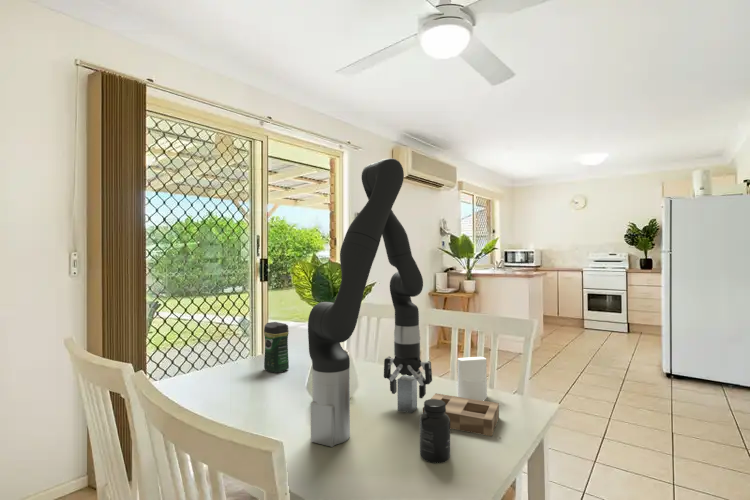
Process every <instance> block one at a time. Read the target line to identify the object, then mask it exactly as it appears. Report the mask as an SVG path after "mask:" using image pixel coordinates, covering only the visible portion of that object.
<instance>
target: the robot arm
mask: <svg viewBox="0 0 750 500" xmlns="http://www.w3.org/2000/svg"><path fill="white" fill-rule="evenodd" d="M403 167H404V166H403V165H402V163H401V162H400V161H399V160H398V159H396V158H383V159H381V160H378V161H374V162H372V163H370V164H367V165H366V166H365V167H364V168H363V170H362V172H361V183H362V187H363V190H364V192H365V195H366V197H367V199H368V201H367V202H366V204H365V205H364V206H363V208H362V209H361V210H360V211H359V213H358V214H357V215H356V216H355V218H354V219H353V221H352V222H351V223H350V225H349V226H348V228H347V231H346V233H345V235H344V238H343V241H342V244H341V247H340V252H339V262H340V263H339V264H340V270H341V271H340V272H341V281H340V285H339V289H338V292H337V295H336V297H335V300H334V302H332V301H331V302H330V301H321V302H318V303H316V304H315V305H314V306H313V307H312V309H311V310H310V313H309V314H308V321H307V337H308V353H309V357H310V360H311V363H312V401H311V403H310V442H312V443H316V444H319V445H323V446H327V447H331V448H333V447H334V446H335V445H336V446H337V445H339V444H342V443H345V442H347V441H348V440H349V439H350V436H351V402H350V401H351V399H350V398H351V391H350V390H351V387H350V385H351V381H350V380H351V377H350V375H351V371H350V370H351V369H350V368H351V367H350V366H351V364H350V361H351V359H350V356H349V354H348V353H347V351H346V350H344V348H343V347H342V345H341V343H344V342H346V341H347V340H348V339H350V338H351V336H352V335H353V333H354V331H355V330H356V326H357V323H358V319H359V315H360V310H361V306H362V301H363V297H364V293H365V289H366V285H367V282H368V279H369V277H370V272H371V269H372V267H373V266H372V265H373V264H374V261H375V258H376V255H377V252H378V250H379V246H380V242H381V240H383V243H384V247H385V252H386V256H387V260H388V262H389V264H390V266H392V267H394V268H396V270H397V272H395V273H393V274H392V276H391V278H390V281H389V293H390V297H391V300H392V301H391V302H392V305H393V308H394V331H393V339H394V340H393V343H394V347H393V349H394V350H393V351H394V354H393V355H394V358H392V357H391V356H390V355H389V356H387V357H385V358H384V359H383V360H384V361H383V362H384V363H383V379H388V380H389V391H390V392H391V394H392V395H395V394H396V393H398V386H397V379H396V378H398V376H399V375H401V376H403V375H406V376H413V377H414V378H415V379H416V380H417V383H418V384H419V385H418V398H419V399H423V398H424V397H425V396H426V394H427V393H426V390H427V389H426V388H427V387H426V385H430V384H431V383H432V382H433V371H432V362H431V361H430V360H429V361H422V359H421V333H420V332H421V331H420V322H419V321H420V318H419V317H420V312H419V307H418V306H417V305H416V304H414V303H413V301H412V298H413V297H417V296H419V295H421V293H422V291H423V288H424V279H423V276H422V273H421V271H420V269H419V267H418V264H417V262H416V261H415V259H414V257H413V254H412V249H411V245H410V240H409V237H408V234H407V232H406V230H405V228H404V226H403V225H402V223H401V221H400V220H399V219H398V217H397V216H396V215H395V213H394V210H393V205H394V204H395V201H396V199H397V197H398V195H399V193H400V191H401V188H402V186H403V183H404V177H405V175H404V174H405V172H404V168H403ZM411 297H412V298H411ZM392 365H394V367H395V370H394V371H393V372H392V373H391V371H392V367H391V366H392ZM421 367H422V369H423V370H424V374H423V373H422V370H420V368H421Z"/></svg>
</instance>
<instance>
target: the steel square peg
mask: <svg viewBox="0 0 750 500" xmlns="http://www.w3.org/2000/svg"><path fill="white" fill-rule="evenodd" d="M396 380H397V411H398V412H404V413H409V414H413V413H414V412H415V411H416V409H417V408H418V381H417V380H416V379H415V378H414V376H413V375H412V376H408V375H401V376H400V377H399V378H397V379H396Z"/></svg>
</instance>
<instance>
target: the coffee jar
mask: <svg viewBox="0 0 750 500" xmlns="http://www.w3.org/2000/svg"><path fill="white" fill-rule="evenodd" d="M289 332H290V331H289V325H288V324H287V323H282V322H278V321H271V322H267V323H266V324H265V325H264V329H263V335H264V357H263V359H264V361H263V362H264V363H263V364H264V365H263V368H264V370H265V371H267V372H269V371H270V373H273V372H274V373H284V372H285V370H286V371H287V370H289V369H290V368H289V367H290V366H289V363H290V362H289V361H290V360H289V346H288V345H289V339H288V338H289V334H290V333H289ZM283 371H284V372H283Z"/></svg>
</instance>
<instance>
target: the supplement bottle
mask: <svg viewBox="0 0 750 500" xmlns="http://www.w3.org/2000/svg"><path fill="white" fill-rule="evenodd" d="M423 407H424V413H423V412H422V413H421V415H420V416H419V455H420V457H421V459H422V460H423V461H426V462H427V463H432V464H443V463H445V462H447V461H449V459H450V458H451V428H450V418H449V416H448V415H447V414H446V413H445V412H446V404H445V402H444V401H442V400H438V399H431V398H430V399H425V401H423Z"/></svg>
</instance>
